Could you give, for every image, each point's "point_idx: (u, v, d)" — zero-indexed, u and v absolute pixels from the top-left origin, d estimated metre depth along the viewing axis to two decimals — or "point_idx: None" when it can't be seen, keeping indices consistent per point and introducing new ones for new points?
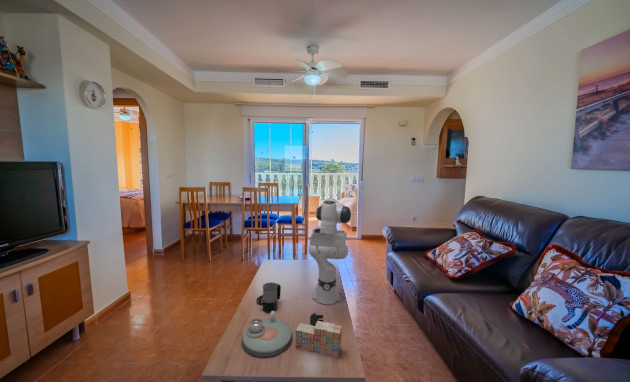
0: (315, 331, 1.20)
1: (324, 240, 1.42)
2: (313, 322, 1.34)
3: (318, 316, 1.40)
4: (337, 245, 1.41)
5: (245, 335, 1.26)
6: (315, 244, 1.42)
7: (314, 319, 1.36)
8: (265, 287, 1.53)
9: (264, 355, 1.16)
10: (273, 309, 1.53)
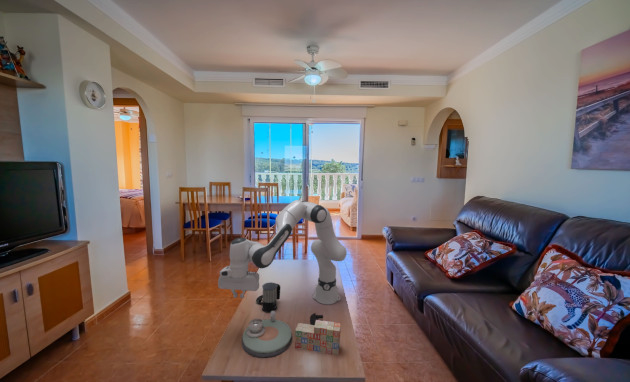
0: (314, 330, 1.21)
1: (233, 283, 1.26)
2: (313, 322, 1.34)
3: (318, 316, 1.40)
4: (248, 289, 1.25)
5: (245, 335, 1.26)
6: (224, 287, 1.26)
7: (314, 319, 1.36)
8: (265, 287, 1.53)
9: (264, 355, 1.16)
10: (273, 309, 1.53)
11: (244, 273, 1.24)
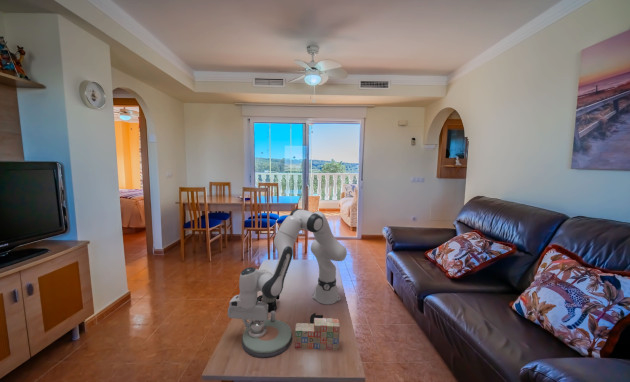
0: (315, 328, 1.22)
1: (243, 313, 1.27)
2: (313, 322, 1.34)
3: (318, 316, 1.40)
4: (257, 319, 1.26)
5: (245, 335, 1.26)
6: (233, 317, 1.28)
7: None
8: None
9: (264, 355, 1.16)
10: (272, 309, 1.53)
11: (253, 303, 1.25)
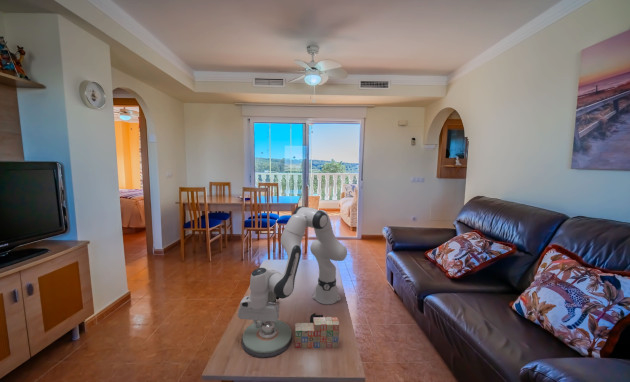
0: (315, 328, 1.23)
1: (253, 314, 1.26)
2: None
3: (318, 316, 1.40)
4: (268, 319, 1.26)
5: (245, 335, 1.26)
6: (244, 318, 1.27)
7: None
8: None
9: (264, 355, 1.16)
10: None
11: (264, 304, 1.25)
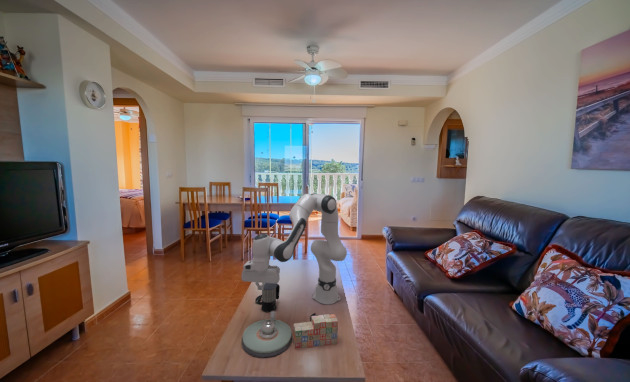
0: (315, 326, 1.24)
1: (256, 276, 1.35)
2: None
3: None
4: (269, 281, 1.35)
5: (245, 335, 1.26)
6: (247, 280, 1.36)
7: None
8: (264, 287, 1.53)
9: (264, 355, 1.16)
10: (272, 309, 1.53)
11: (266, 267, 1.34)
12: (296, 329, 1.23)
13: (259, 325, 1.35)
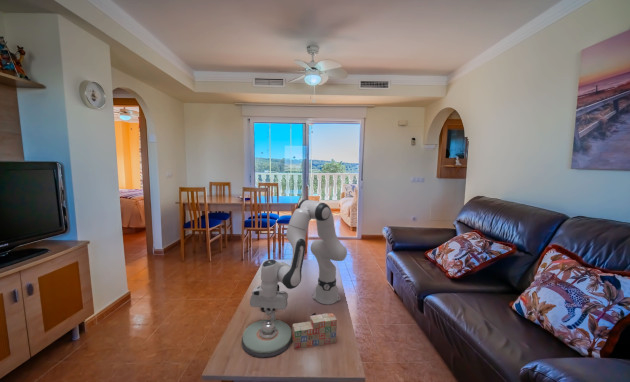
0: (314, 326, 1.24)
1: (264, 302, 1.37)
2: None
3: None
4: (278, 307, 1.36)
5: (245, 335, 1.26)
6: (255, 305, 1.37)
7: None
8: None
9: (264, 355, 1.16)
10: None
11: (274, 293, 1.35)
12: (295, 329, 1.23)
13: (259, 325, 1.35)
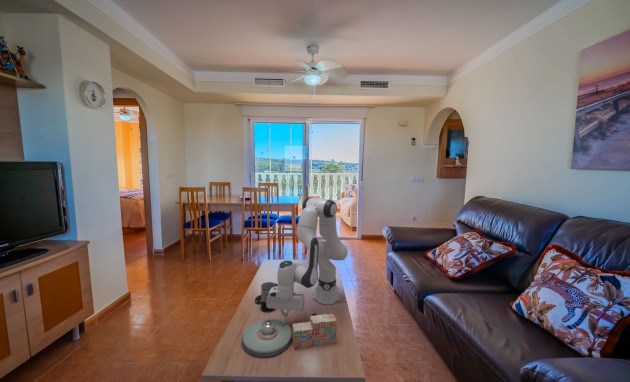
0: (314, 326, 1.24)
1: (281, 303, 1.36)
2: None
3: None
4: (294, 308, 1.35)
5: (250, 326, 1.33)
6: (272, 307, 1.36)
7: None
8: (263, 287, 1.53)
9: (264, 355, 1.16)
10: (271, 309, 1.53)
11: (291, 294, 1.34)
12: (295, 329, 1.23)
13: None
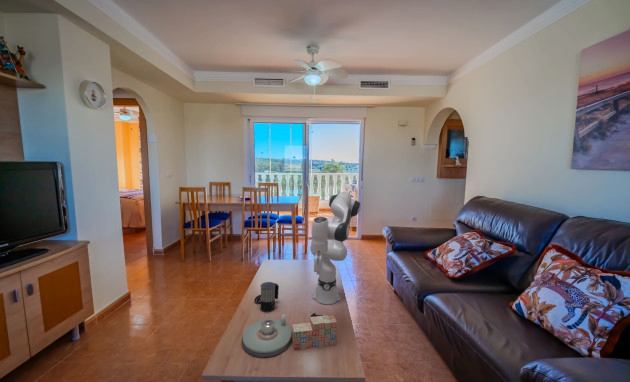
0: (313, 327, 1.23)
1: None
2: None
3: None
4: None
5: (250, 326, 1.33)
6: None
7: None
8: (263, 286, 1.53)
9: (264, 355, 1.16)
10: (271, 308, 1.53)
11: (314, 250, 1.31)
12: (295, 330, 1.22)
13: None
